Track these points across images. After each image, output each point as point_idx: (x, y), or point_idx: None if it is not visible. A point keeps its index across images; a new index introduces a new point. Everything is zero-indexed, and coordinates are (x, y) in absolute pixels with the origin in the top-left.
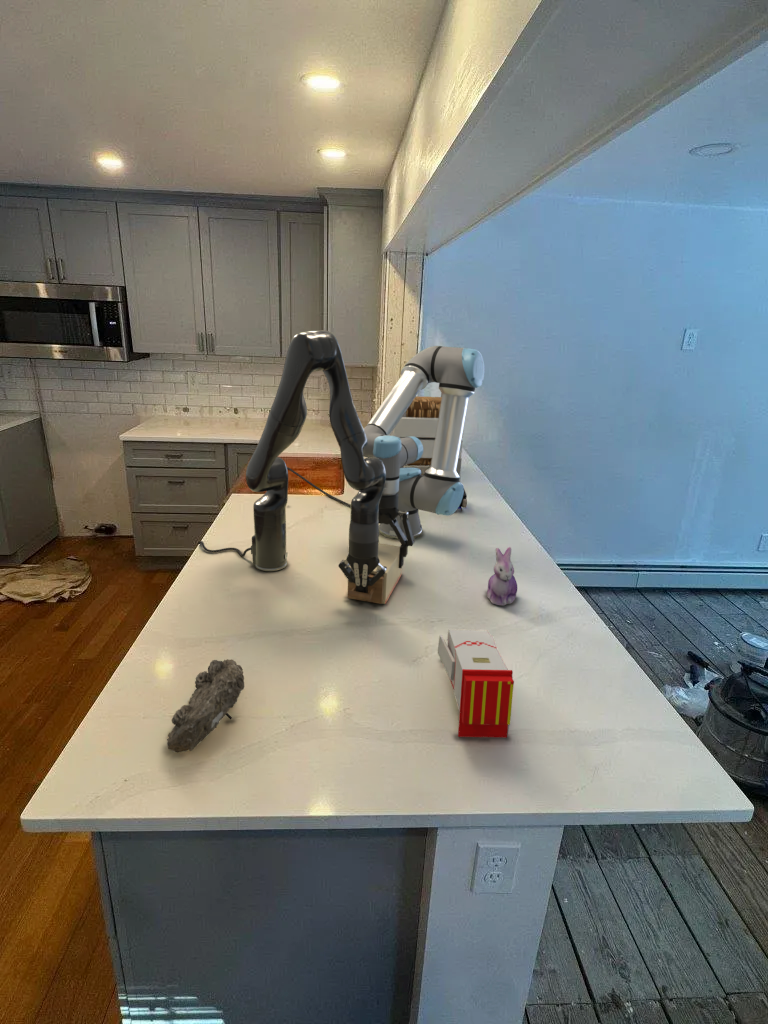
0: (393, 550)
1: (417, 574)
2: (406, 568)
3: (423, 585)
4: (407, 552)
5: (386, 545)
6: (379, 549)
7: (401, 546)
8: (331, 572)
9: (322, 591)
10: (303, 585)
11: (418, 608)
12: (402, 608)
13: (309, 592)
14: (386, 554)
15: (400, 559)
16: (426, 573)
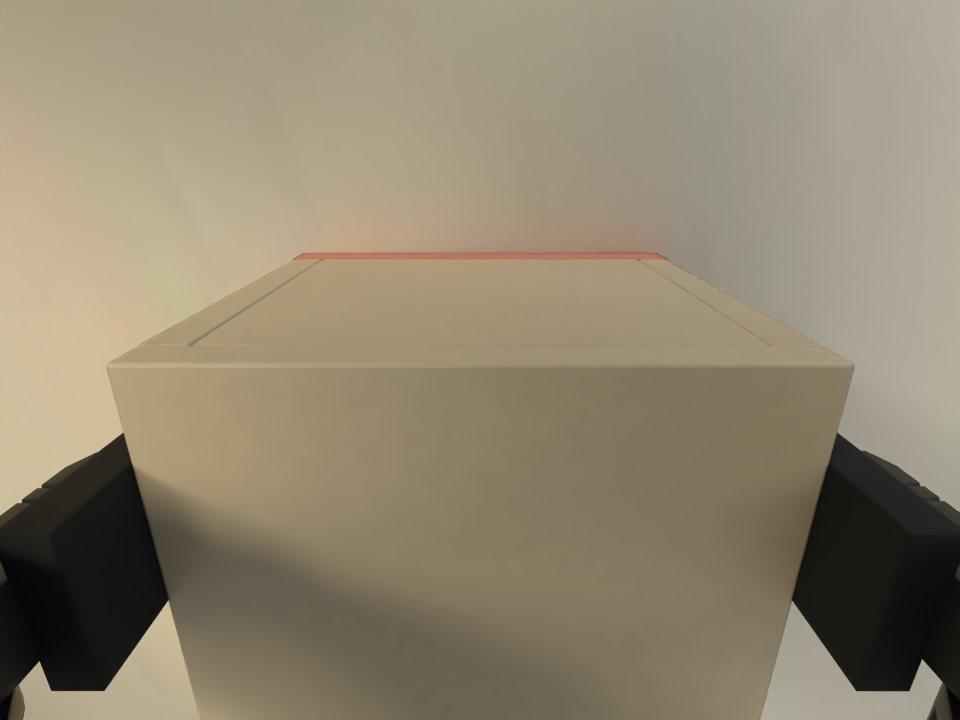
0: (683, 563)
1: (818, 173)
2: (691, 59)
3: (868, 379)
4: (915, 482)
5: (516, 411)
6: (444, 601)
7: (892, 648)
8: (43, 410)
9: (169, 670)
10: None
11: (818, 675)
12: None
13: (104, 699)
14: (596, 706)
15: None
16: (918, 112)
